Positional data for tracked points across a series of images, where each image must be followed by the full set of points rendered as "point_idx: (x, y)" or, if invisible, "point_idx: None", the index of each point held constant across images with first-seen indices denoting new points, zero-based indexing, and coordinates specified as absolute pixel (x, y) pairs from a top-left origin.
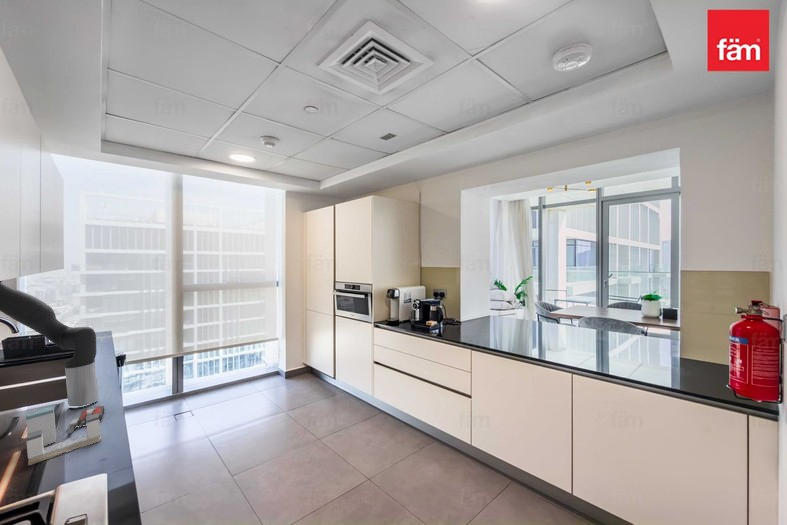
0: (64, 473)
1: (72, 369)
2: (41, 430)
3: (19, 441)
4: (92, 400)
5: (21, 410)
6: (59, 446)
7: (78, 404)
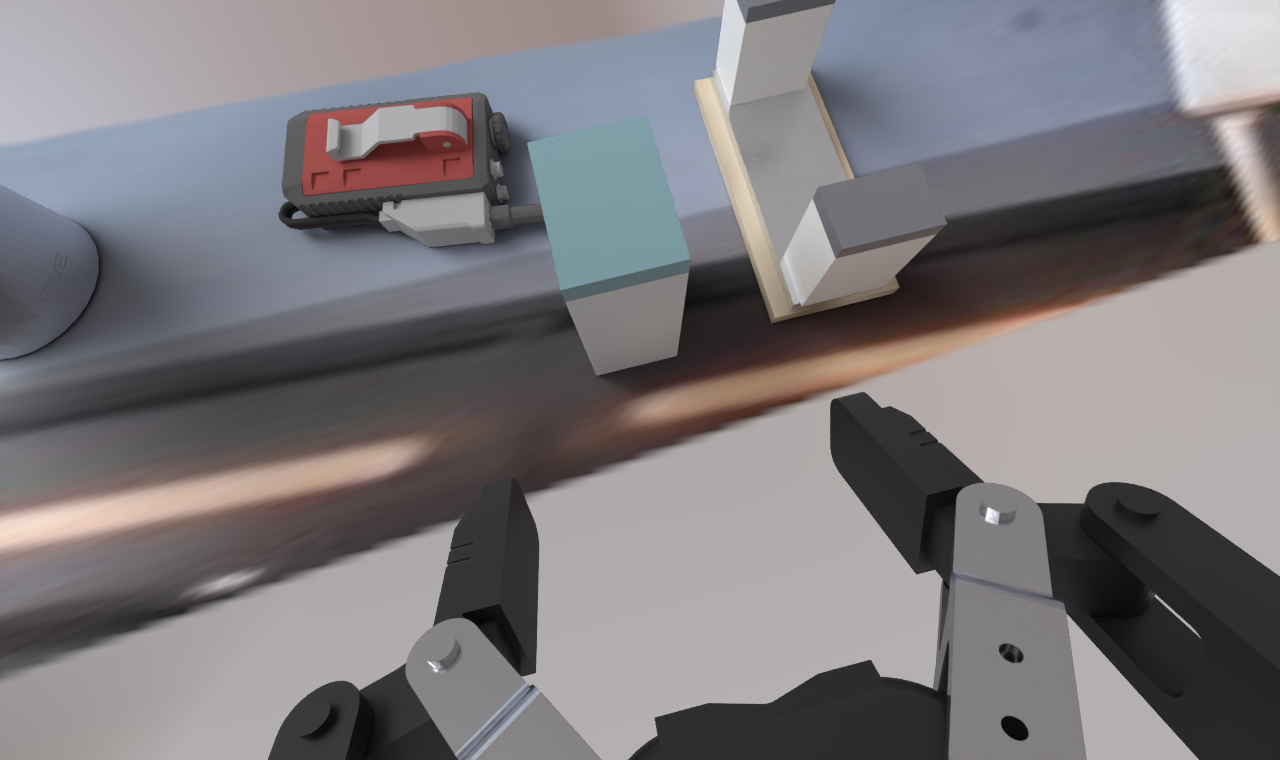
0: (1082, 123)
1: None
2: (838, 183)
3: (460, 463)
4: (54, 215)
5: None
6: (814, 188)
7: (60, 279)
